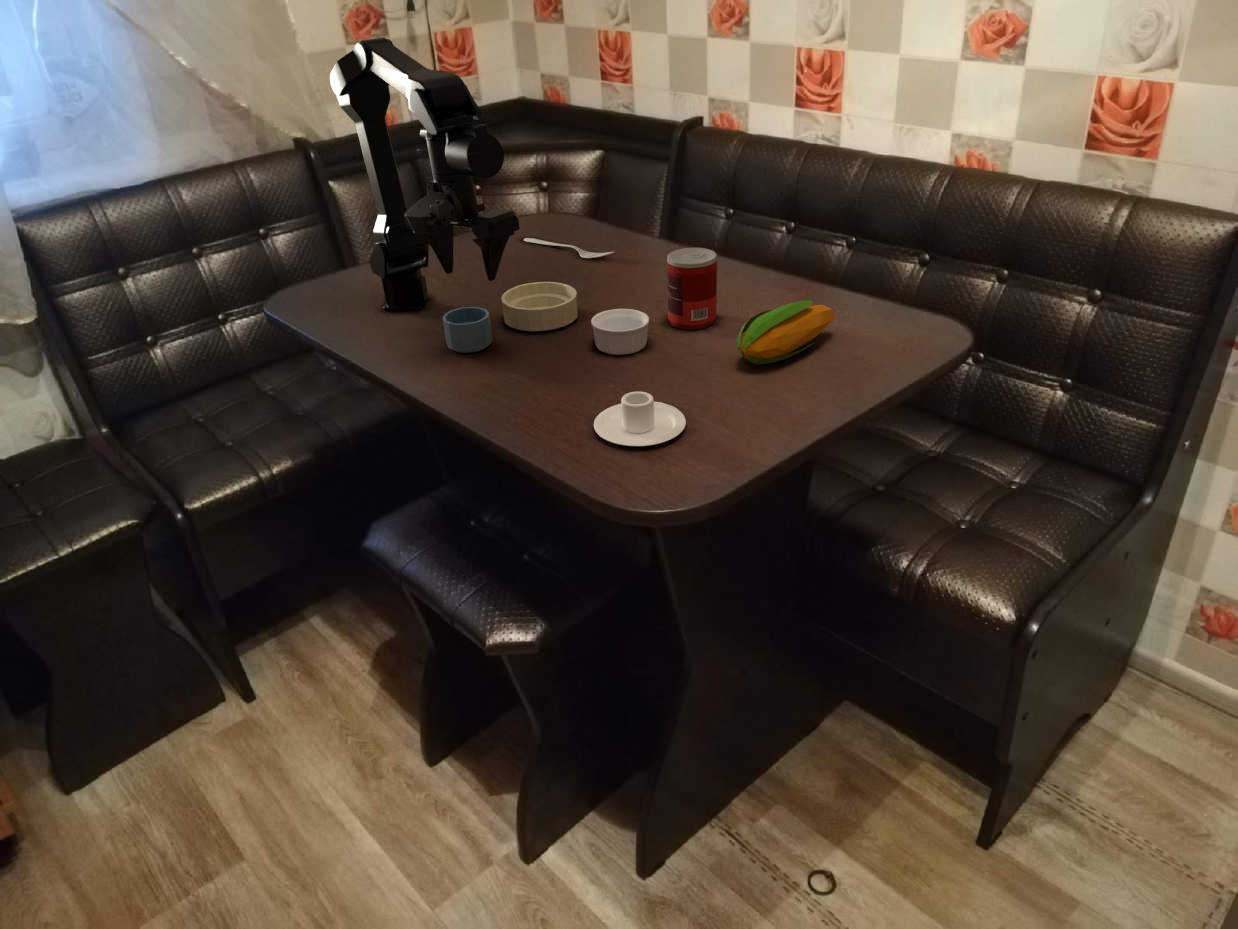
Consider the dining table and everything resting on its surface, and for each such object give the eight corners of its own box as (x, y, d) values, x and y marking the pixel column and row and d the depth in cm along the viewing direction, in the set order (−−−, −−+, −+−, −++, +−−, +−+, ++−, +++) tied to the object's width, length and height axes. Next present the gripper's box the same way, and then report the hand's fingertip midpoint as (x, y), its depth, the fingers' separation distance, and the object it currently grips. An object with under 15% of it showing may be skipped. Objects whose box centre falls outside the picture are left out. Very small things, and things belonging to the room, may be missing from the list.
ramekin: (621, 328, 148) (620, 303, 146) (661, 343, 143) (661, 317, 140) (580, 346, 143) (579, 320, 141) (621, 362, 138) (619, 335, 135)
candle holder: (675, 401, 126) (674, 372, 124) (695, 444, 116) (695, 414, 114) (588, 411, 125) (586, 382, 123) (601, 456, 115) (599, 425, 112)
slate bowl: (443, 355, 143) (438, 325, 140) (452, 336, 149) (448, 307, 146) (488, 354, 142) (484, 324, 140) (496, 335, 148) (492, 306, 146)
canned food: (724, 316, 151) (725, 250, 145) (701, 334, 145) (701, 266, 139) (683, 308, 154) (682, 244, 149) (659, 325, 149) (657, 259, 143)
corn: (724, 315, 131) (814, 278, 142) (721, 362, 135) (808, 323, 146) (763, 333, 127) (853, 293, 137) (758, 381, 131) (846, 339, 142)
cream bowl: (498, 334, 149) (495, 310, 146) (510, 305, 159) (508, 282, 157) (574, 333, 148) (572, 308, 145) (581, 304, 158) (580, 280, 156)
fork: (530, 237, 191) (529, 228, 190) (616, 259, 177) (616, 250, 176) (518, 241, 189) (517, 232, 188) (605, 264, 175) (604, 255, 174)
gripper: (366, 179, 132) (389, 285, 139) (456, 187, 121) (475, 301, 129) (424, 163, 140) (443, 264, 147) (514, 169, 129) (529, 277, 136)
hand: (470, 276), depth 140 cm, fingers open, 9 cm apart
